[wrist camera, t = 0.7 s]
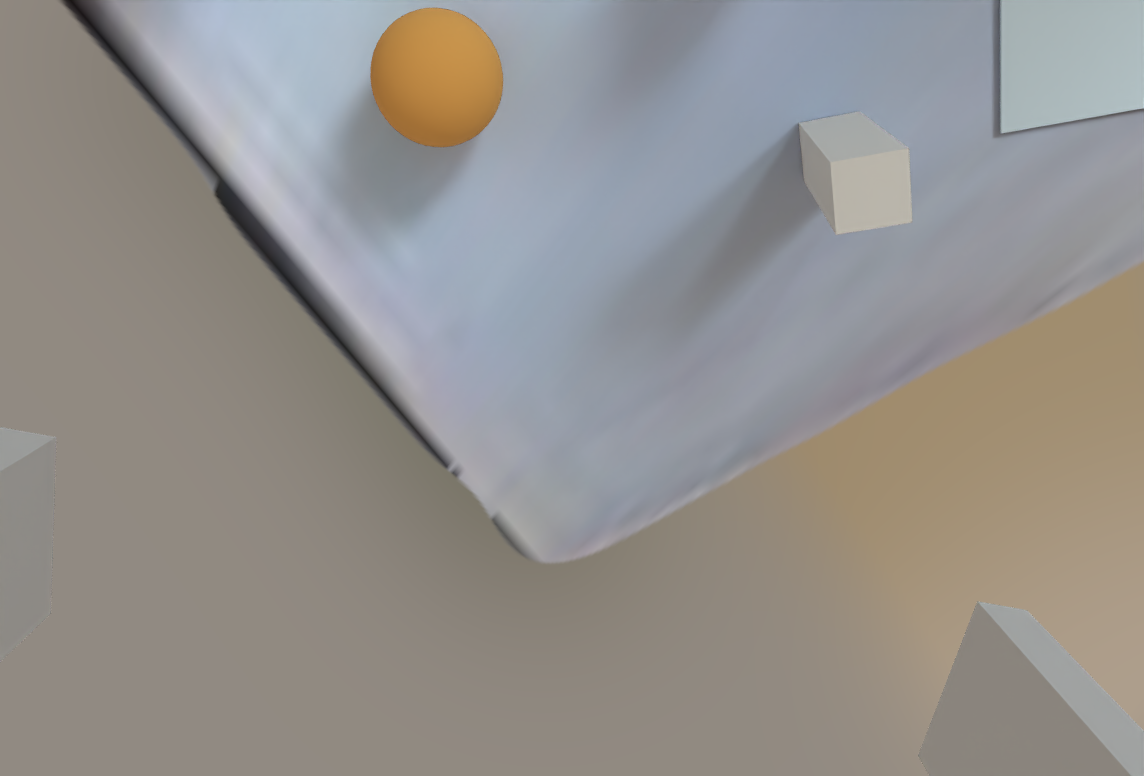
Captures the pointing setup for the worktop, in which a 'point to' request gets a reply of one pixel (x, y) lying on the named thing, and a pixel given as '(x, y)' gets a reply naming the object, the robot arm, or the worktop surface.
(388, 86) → the ball
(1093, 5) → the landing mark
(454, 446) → the worktop surface
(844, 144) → the post
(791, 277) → the worktop surface
